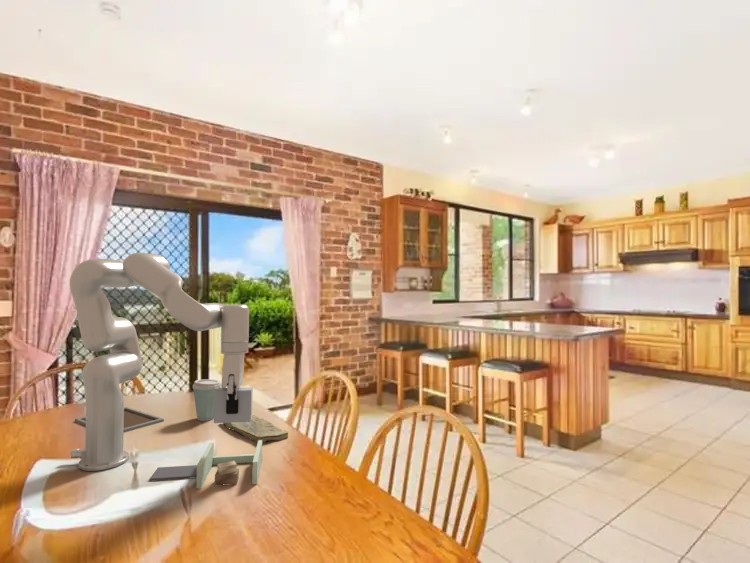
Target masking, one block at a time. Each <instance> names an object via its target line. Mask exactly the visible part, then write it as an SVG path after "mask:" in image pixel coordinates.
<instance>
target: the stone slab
mask: <svg viewBox="0 0 750 563" xmlns="http://www.w3.org/2000/svg"><path fill="white" fill-rule="evenodd" d="M224 424H225V425H226V428H227V427H228V428H230V429H234V430H236V431H235V432H238V433H239V434H240V435H243V436H244V437H245V438H248V439H250V438H251V439H250V440H252V439H253V440H252V441H254V442H258V440H262V444H264V443H266V442H267V440H268V441H271V440H278V441H281V439H282V440H284V438H285V439H288V437H289V432H288V431H286V430H283V429H281V428H279V427H277V426H275V424H272V422H270V421H268V420H267V419H264V418H262V417H259V416H256V415H253V414H252V419H251V422H232V423H224ZM224 424H223V425H224ZM225 425H224V426H225ZM228 428H227V429H228ZM234 430H233V431H234ZM265 441H266V442H265ZM263 442H264V443H263Z"/></svg>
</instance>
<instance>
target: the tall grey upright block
mask: <svg viewBox="0 0 750 563" xmlns="http://www.w3.org/2000/svg"><path fill="white" fill-rule="evenodd" d="M253 390H254V388H253V387H252V386H249V387H248V386H246V387H243V386H240V388H239V389H238V397H237V399H238V413H237V414H226V400H227V387H226V388H225V389H224V390H223V389H222V388H216V390H215V391H214V419H213V424H219V423H220V424H223V423H232V422H251V419H252V415H253ZM234 392H235V391H234Z"/></svg>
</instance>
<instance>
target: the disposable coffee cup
mask: <svg viewBox="0 0 750 563" xmlns="http://www.w3.org/2000/svg"><path fill="white" fill-rule="evenodd" d="M221 384H222V381H219V380H217V379H198V380H197V379H196V380H195V381H194V382H193V384H192V389H193V396H194V397H193V398H194V403H195V405H194V406H195V413H196V418H197V420H198V421H201V422H206V421H207V422H208V421H212V420H214V391H215V390H216V388H221Z"/></svg>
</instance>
